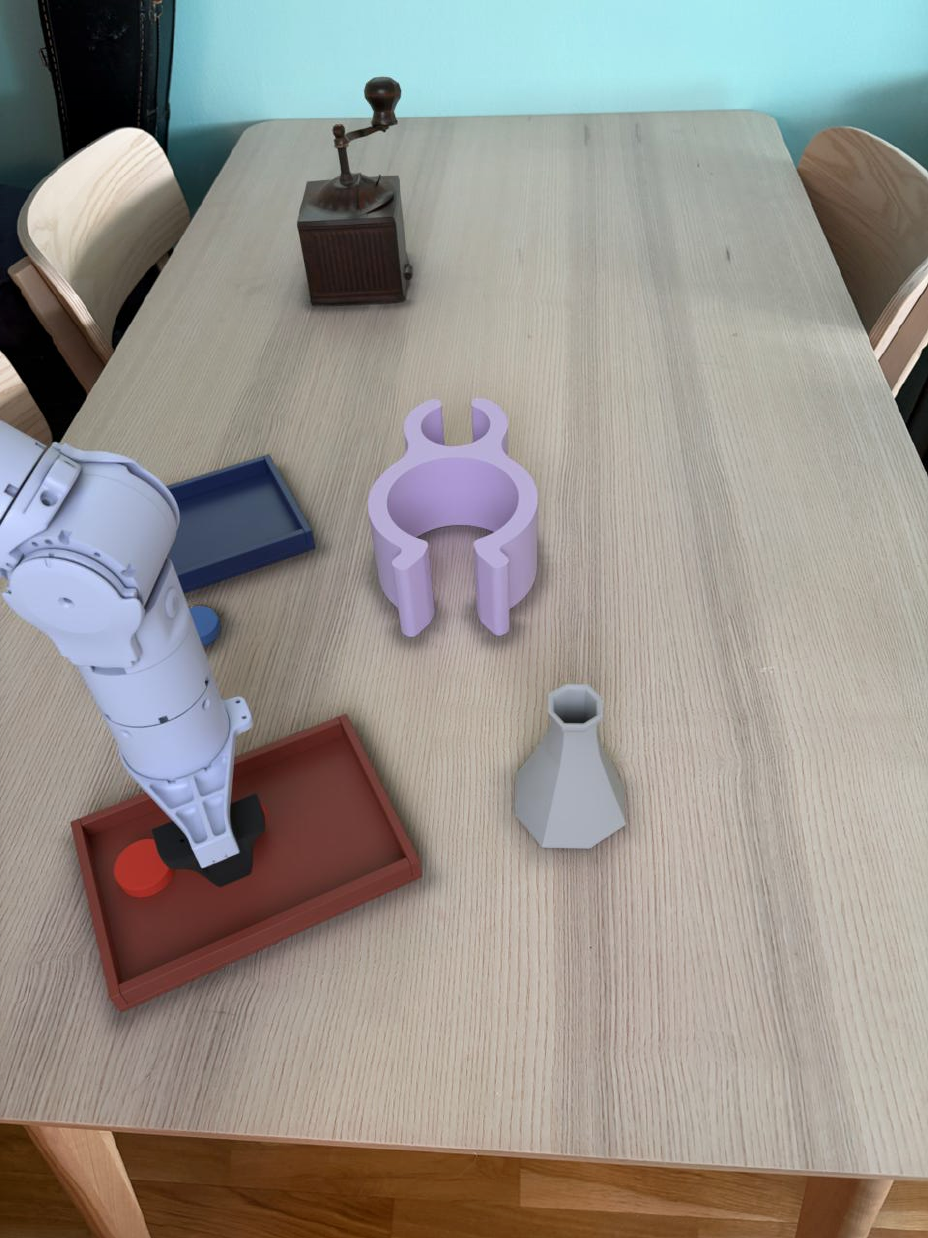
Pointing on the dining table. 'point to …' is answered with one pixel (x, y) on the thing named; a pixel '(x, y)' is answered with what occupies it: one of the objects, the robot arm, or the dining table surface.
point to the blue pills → (205, 623)
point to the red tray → (281, 874)
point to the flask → (570, 776)
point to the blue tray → (235, 523)
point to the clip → (455, 515)
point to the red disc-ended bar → (144, 868)
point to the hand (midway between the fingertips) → (215, 824)
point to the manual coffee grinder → (356, 222)
